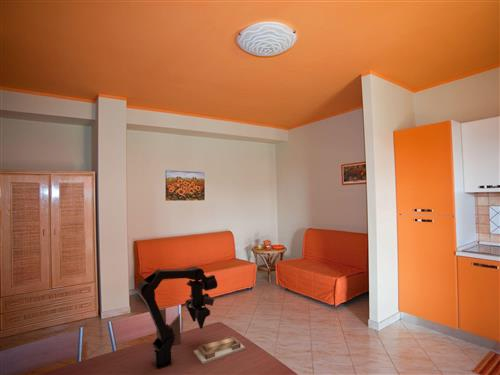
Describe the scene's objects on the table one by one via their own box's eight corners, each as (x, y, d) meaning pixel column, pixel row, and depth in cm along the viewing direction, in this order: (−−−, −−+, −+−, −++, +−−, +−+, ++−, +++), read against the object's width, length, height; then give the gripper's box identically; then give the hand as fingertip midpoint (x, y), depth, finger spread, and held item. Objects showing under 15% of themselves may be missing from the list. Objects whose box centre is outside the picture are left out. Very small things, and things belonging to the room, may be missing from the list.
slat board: (202, 364, 131) (202, 357, 131) (193, 352, 141) (193, 346, 141) (244, 349, 143) (244, 342, 143) (234, 339, 152) (234, 333, 152)
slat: (206, 354, 137) (206, 348, 137) (204, 350, 141) (204, 344, 141) (234, 347, 143) (234, 340, 143) (231, 343, 146) (231, 337, 146)
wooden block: (179, 344, 149) (179, 308, 150) (158, 345, 148) (157, 310, 149) (180, 340, 153) (180, 305, 153) (159, 342, 152) (158, 307, 152)
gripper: (219, 295, 141) (220, 327, 140) (204, 284, 156) (205, 314, 156) (197, 300, 135) (198, 334, 135) (184, 289, 151) (185, 319, 150)
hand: (197, 324), depth 144 cm, fingers open, 9 cm apart
